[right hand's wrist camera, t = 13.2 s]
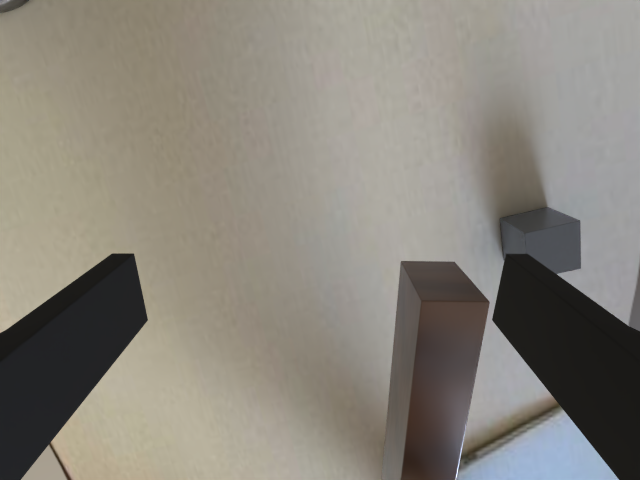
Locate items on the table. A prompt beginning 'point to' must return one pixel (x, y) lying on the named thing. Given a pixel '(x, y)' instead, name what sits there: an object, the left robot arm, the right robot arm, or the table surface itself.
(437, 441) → the walnut bar
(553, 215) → the slate cube
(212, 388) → the table surface
